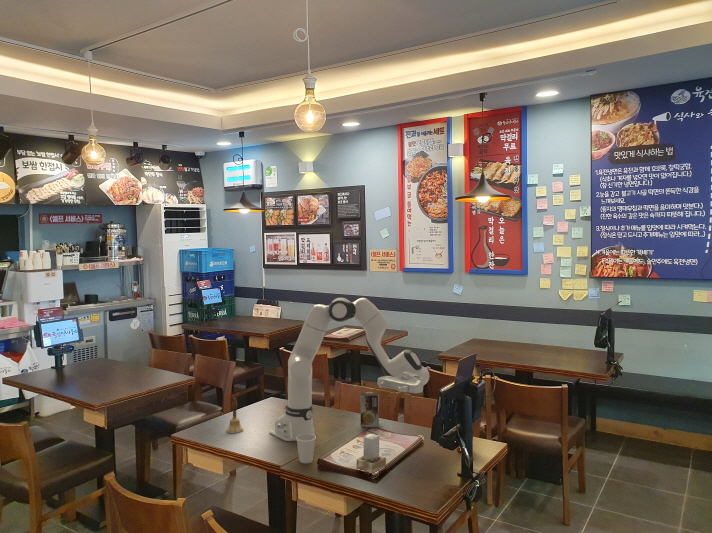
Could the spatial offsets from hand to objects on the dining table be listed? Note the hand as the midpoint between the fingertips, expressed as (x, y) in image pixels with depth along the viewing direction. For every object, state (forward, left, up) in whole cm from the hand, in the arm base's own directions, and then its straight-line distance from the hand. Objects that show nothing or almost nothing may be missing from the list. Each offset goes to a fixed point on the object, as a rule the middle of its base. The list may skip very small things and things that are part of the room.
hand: (389, 387), depth 225 cm
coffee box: (-28, +25, -29) cm, 48 cm away
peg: (+3, -18, -28) cm, 33 cm away
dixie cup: (-24, -27, -29) cm, 46 cm away
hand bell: (-76, -21, -29) cm, 84 cm away
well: (+3, -18, -29) cm, 34 cm away
